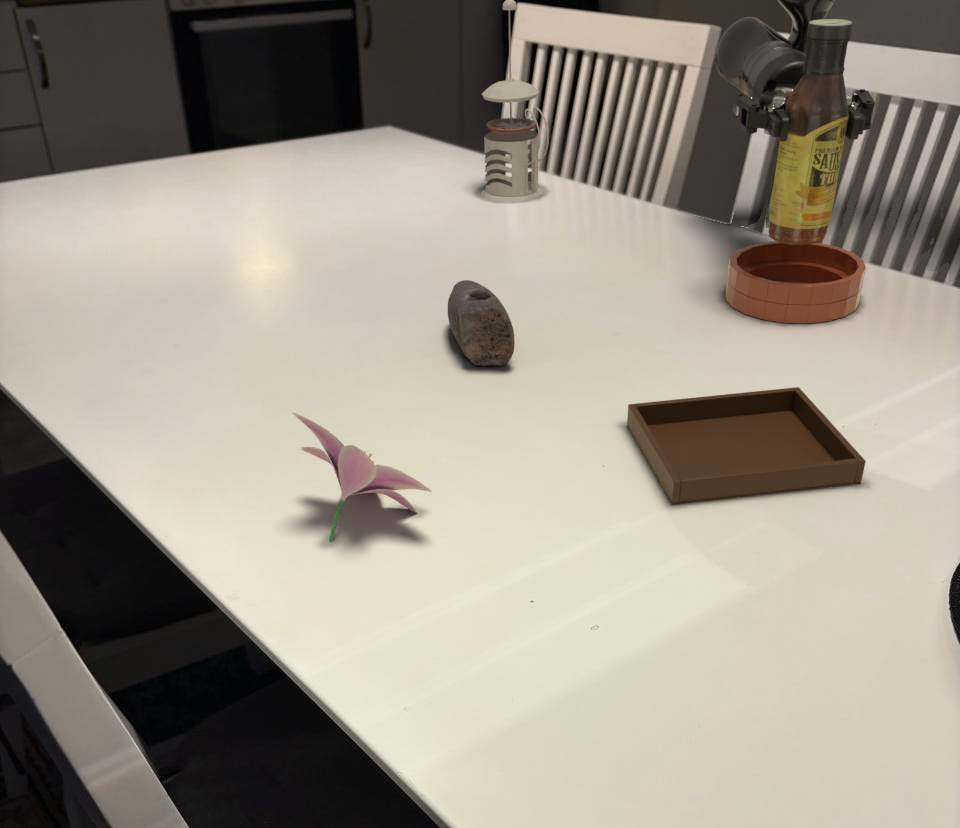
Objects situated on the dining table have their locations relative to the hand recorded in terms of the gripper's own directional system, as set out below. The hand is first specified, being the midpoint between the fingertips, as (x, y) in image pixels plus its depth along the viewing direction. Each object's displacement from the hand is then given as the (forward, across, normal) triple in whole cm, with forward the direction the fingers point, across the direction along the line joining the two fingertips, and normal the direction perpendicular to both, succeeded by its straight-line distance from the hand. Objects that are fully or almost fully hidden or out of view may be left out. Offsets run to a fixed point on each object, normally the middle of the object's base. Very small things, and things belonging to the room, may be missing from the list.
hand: (820, 129), depth 101 cm
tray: (+29, -10, +19) cm, 37 cm away
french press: (-51, -30, +20) cm, 62 cm away
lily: (+39, -42, +20) cm, 61 cm away
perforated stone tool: (+5, -34, +20) cm, 40 cm away
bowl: (-7, +1, +20) cm, 21 cm away
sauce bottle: (-2, 0, +11) cm, 12 cm away
